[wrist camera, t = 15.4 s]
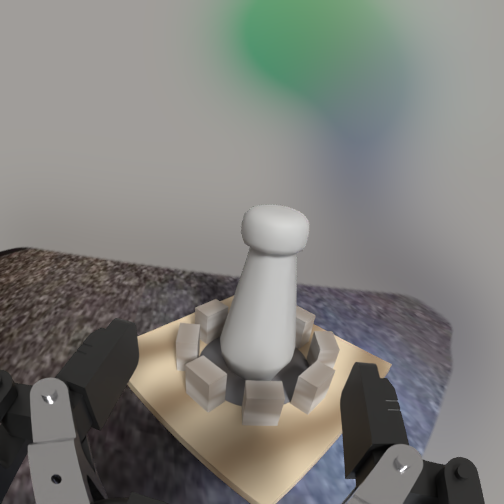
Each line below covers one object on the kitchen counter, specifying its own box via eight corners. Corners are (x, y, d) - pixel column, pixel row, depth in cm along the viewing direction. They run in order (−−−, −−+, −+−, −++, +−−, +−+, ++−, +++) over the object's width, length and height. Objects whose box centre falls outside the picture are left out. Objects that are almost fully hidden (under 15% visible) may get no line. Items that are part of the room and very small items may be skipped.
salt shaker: (257, 403, 21) (288, 231, 16) (203, 363, 25) (211, 203, 19) (302, 366, 26) (338, 215, 20) (251, 335, 29) (270, 194, 24)
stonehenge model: (106, 358, 24) (98, 321, 23) (247, 296, 37) (251, 265, 36) (264, 513, 14) (276, 490, 12) (388, 372, 27) (403, 339, 25)
